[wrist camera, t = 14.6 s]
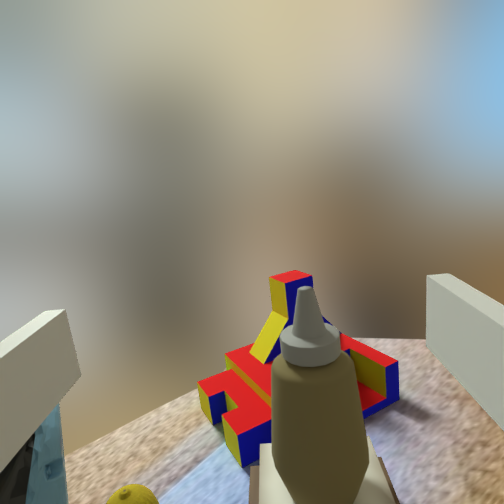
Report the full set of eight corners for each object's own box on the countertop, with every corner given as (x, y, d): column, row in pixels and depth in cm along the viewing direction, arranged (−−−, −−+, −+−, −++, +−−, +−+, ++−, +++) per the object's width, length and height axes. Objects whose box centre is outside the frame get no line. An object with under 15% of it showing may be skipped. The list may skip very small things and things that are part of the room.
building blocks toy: (196, 402, 59) (178, 296, 55) (318, 352, 70) (311, 261, 66) (251, 483, 42) (231, 340, 38) (399, 401, 53) (395, 283, 49)
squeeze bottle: (390, 483, 31) (382, 281, 27) (332, 555, 26) (312, 319, 22) (315, 438, 37) (300, 268, 33) (256, 489, 32) (230, 295, 28)
